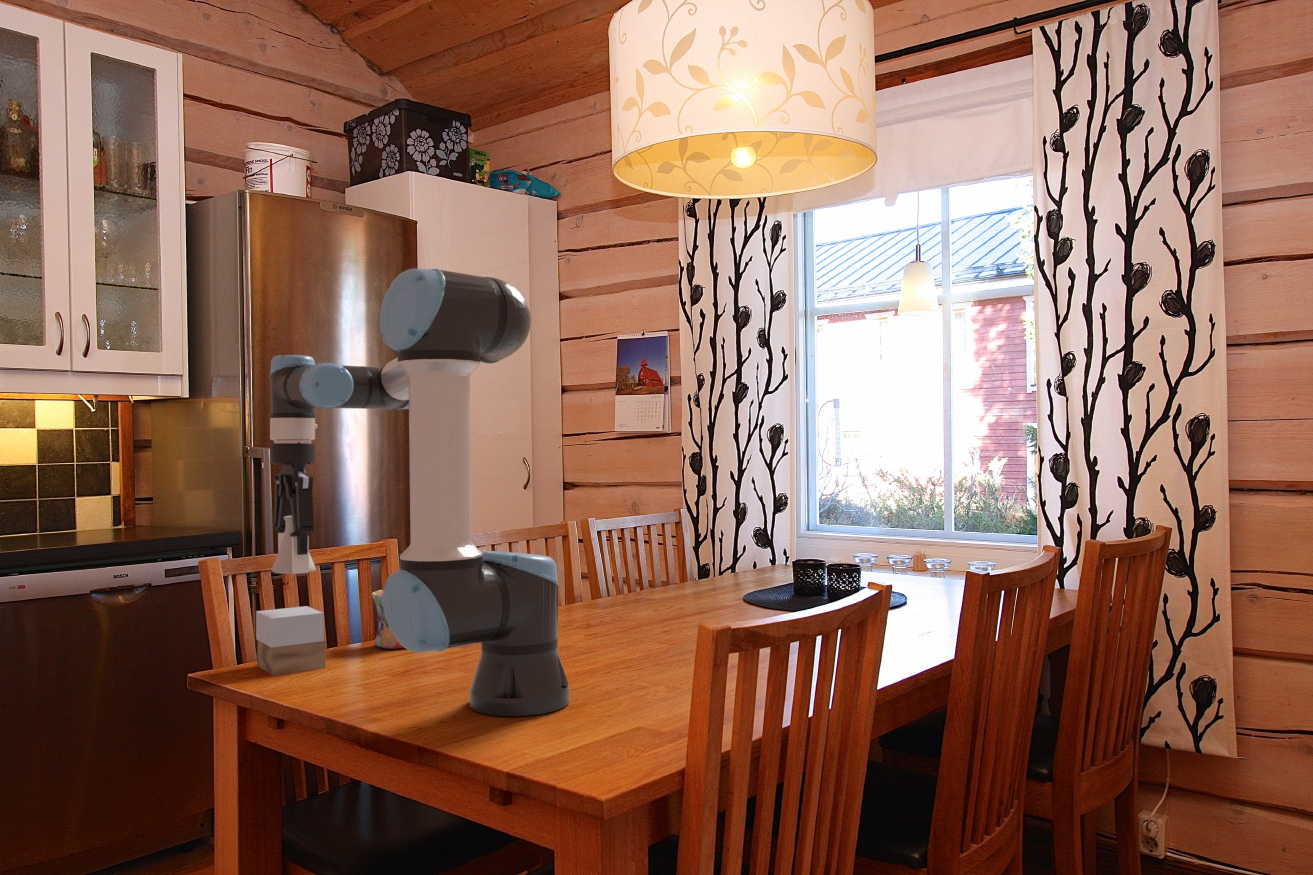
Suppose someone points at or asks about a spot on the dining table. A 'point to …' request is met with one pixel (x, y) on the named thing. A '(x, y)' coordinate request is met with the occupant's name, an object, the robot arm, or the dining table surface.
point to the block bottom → (291, 657)
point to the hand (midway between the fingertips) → (293, 570)
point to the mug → (384, 626)
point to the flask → (287, 552)
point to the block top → (289, 626)
